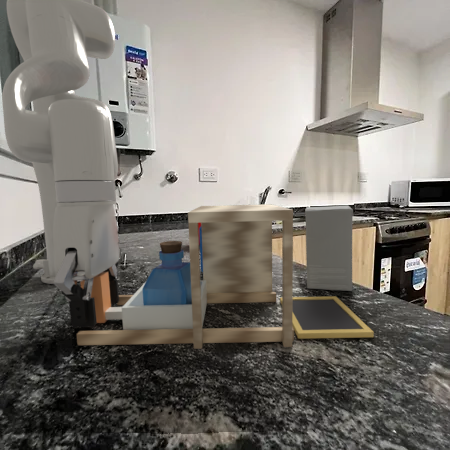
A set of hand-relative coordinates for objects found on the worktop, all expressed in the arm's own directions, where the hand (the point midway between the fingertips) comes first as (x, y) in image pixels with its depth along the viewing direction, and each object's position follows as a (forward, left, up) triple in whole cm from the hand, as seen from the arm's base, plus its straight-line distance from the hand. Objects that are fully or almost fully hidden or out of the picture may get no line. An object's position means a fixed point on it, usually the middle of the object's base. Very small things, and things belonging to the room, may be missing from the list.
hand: (97, 312), depth 39 cm
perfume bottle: (+12, -1, -2) cm, 12 cm away
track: (+14, 0, -1) cm, 14 cm away
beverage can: (+17, +23, -1) cm, 28 cm away
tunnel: (+22, 0, -1) cm, 22 cm away
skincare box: (+40, +13, -1) cm, 42 cm away
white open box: (+7, 0, -1) cm, 7 cm away
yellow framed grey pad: (+34, 0, -1) cm, 34 cm away
